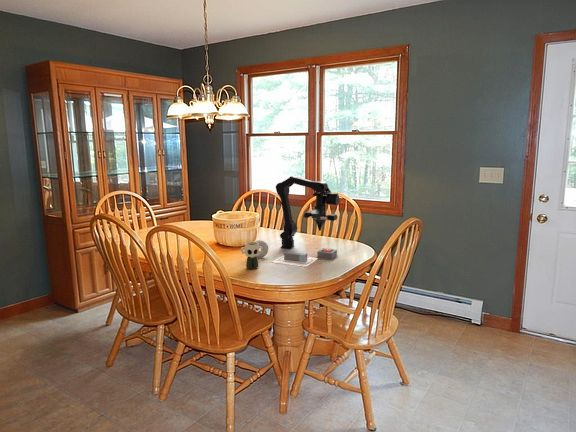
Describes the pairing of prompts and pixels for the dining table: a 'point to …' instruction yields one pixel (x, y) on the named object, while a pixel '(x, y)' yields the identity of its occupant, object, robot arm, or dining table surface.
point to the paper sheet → (289, 262)
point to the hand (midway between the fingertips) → (320, 230)
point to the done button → (327, 250)
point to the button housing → (326, 254)
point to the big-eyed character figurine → (252, 254)
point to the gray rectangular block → (295, 256)
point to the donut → (265, 248)
